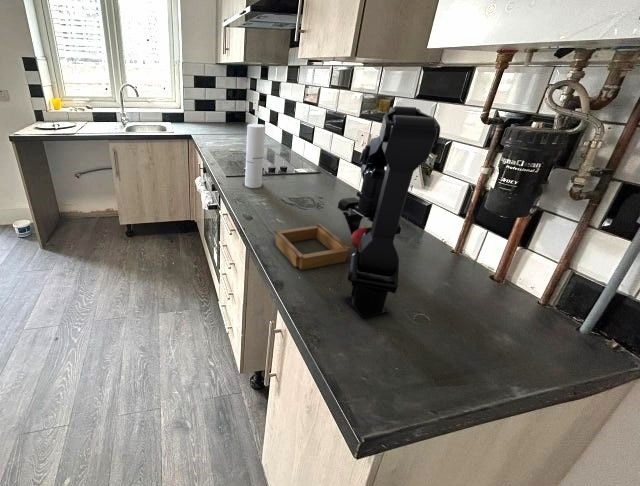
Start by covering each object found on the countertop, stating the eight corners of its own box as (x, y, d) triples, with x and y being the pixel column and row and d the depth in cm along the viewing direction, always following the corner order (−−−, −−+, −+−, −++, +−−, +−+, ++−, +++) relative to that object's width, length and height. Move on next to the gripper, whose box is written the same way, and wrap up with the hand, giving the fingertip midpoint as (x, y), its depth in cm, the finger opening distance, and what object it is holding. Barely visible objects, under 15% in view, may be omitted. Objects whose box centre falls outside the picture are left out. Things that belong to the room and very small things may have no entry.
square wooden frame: (348, 261, 86) (351, 247, 84) (298, 270, 81) (300, 256, 80) (317, 235, 99) (319, 223, 97) (273, 241, 94) (274, 229, 92)
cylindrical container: (261, 188, 135) (265, 127, 124) (244, 187, 135) (247, 126, 124) (261, 182, 141) (264, 124, 130) (245, 182, 141) (247, 123, 130)
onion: (371, 249, 92) (378, 224, 89) (367, 258, 88) (374, 232, 84) (351, 243, 95) (356, 219, 91) (346, 252, 90) (351, 227, 87)
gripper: (426, 200, 78) (409, 255, 85) (373, 177, 94) (362, 224, 100) (389, 205, 74) (375, 262, 81) (341, 180, 90) (332, 229, 97)
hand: (361, 242), depth 90 cm, fingers closed on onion, 6 cm apart
